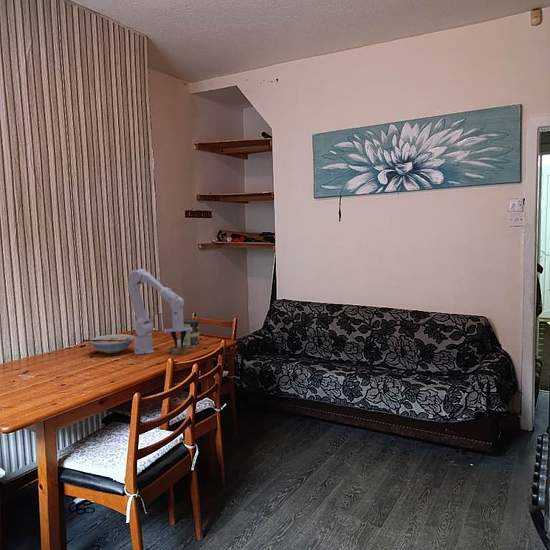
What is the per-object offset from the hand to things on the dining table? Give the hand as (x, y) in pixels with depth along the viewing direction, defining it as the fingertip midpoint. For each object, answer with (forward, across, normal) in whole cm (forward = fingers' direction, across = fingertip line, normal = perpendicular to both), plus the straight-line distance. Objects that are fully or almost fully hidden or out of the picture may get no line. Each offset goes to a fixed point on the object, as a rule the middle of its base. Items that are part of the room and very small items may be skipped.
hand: (178, 345), depth 257 cm
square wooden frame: (+4, 0, 0) cm, 4 cm away
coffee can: (+4, +7, +15) cm, 17 cm away
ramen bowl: (+4, -34, +14) cm, 37 cm away
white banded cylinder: (+2, 0, 0) cm, 2 cm away
